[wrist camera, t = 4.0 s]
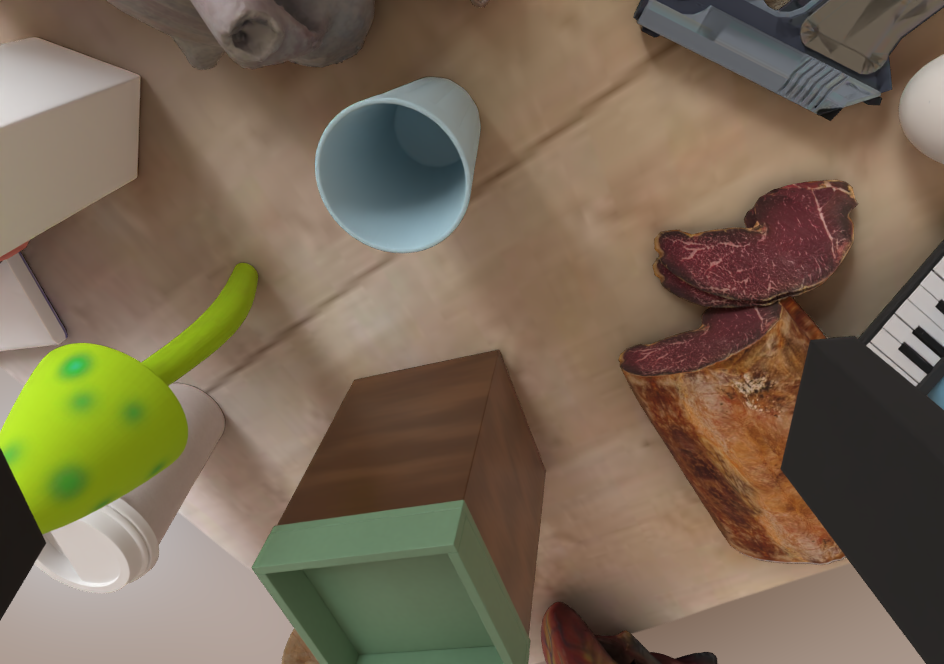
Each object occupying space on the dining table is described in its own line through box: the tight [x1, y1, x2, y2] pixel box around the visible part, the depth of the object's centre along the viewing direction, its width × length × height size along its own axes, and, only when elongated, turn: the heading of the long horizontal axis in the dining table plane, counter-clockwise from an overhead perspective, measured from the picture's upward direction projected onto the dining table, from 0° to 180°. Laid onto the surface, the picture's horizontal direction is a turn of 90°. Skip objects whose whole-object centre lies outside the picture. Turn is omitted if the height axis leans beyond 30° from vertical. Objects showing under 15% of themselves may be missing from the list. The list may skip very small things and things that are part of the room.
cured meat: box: [619, 180, 858, 565], centre depth 43 cm, size 18×25×7 cm
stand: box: [277, 350, 546, 637], centre depth 47 cm, size 12×12×15 cm
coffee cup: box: [34, 383, 225, 593], centre depth 51 cm, size 10×10×15 cm
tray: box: [252, 500, 530, 664], centre depth 40 cm, size 12×12×3 cm
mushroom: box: [0, 263, 258, 534], centre depth 39 cm, size 8×8×25 cm
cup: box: [315, 77, 481, 253], centre depth 37 cm, size 8×8×10 cm
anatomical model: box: [541, 602, 717, 664], centre depth 62 cm, size 9×13×15 cm
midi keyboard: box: [858, 240, 944, 396], centre depth 38 cm, size 18×1×5 cm
